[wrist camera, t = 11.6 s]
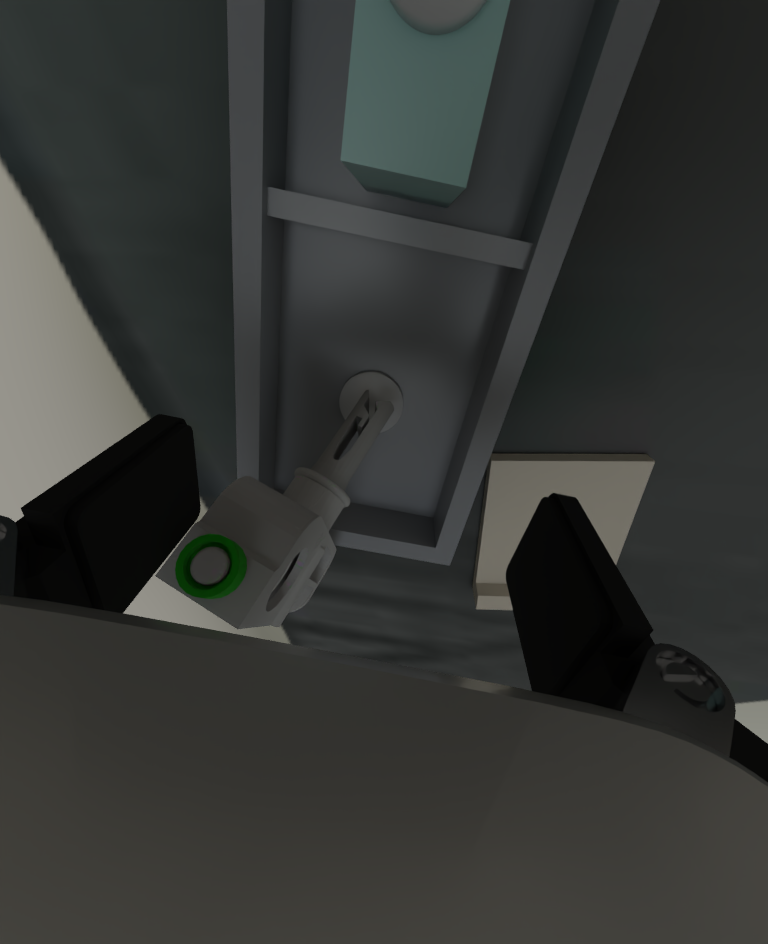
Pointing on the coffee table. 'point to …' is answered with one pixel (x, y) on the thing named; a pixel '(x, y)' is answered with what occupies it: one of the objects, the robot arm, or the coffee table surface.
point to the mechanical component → (272, 534)
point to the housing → (406, 230)
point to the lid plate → (539, 475)
